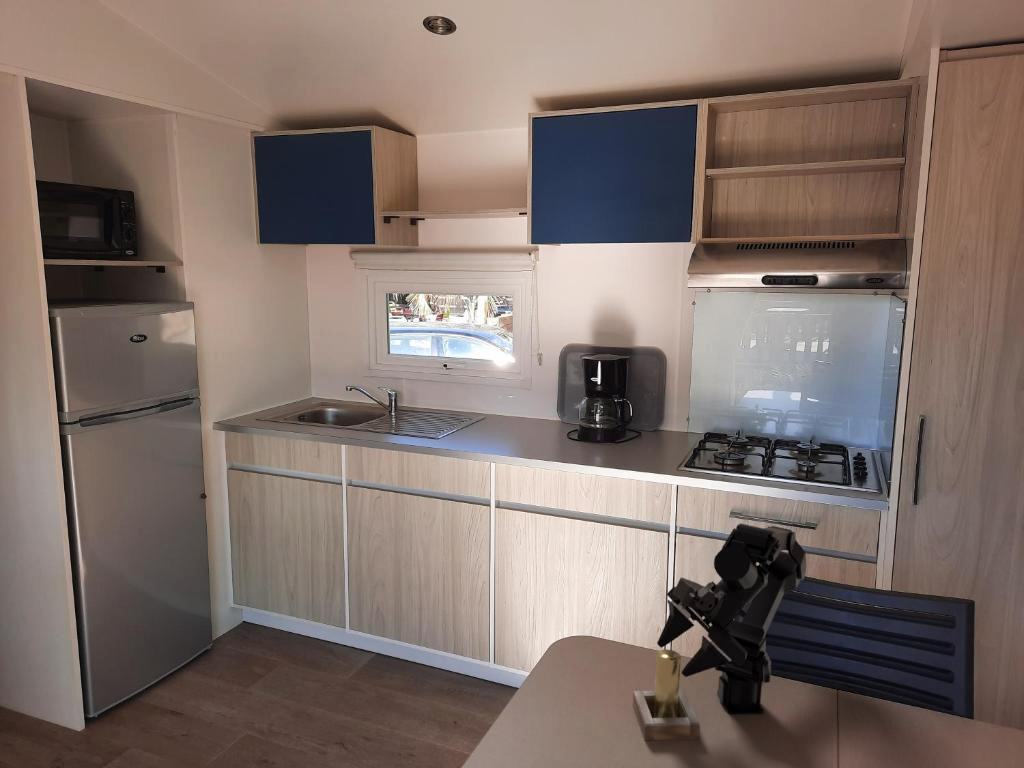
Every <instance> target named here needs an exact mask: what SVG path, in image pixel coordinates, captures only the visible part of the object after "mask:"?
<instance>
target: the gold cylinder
mask: <svg viewBox="0 0 1024 768" xmlns="http://www.w3.org/2000/svg"><path fill="white" fill-rule="evenodd" d="M681 659H682V656H681V655H680V653H678V652H676V651H675V650H672V649H665V648H664V649H660V650H659V651H657V653H656V661H655V681H654V683H655V684H654V691H655V698H654V711H653V718H678V716H679V714H678V697H679V690H680V675H681Z"/></svg>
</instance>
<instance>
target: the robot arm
mask: <svg viewBox="0 0 1024 768" xmlns="http://www.w3.org/2000/svg"><path fill="white" fill-rule="evenodd" d="M786 551H787V552H786ZM806 553H807V552H806V551H805V550H804V549H803V547H802V546H801V545H800V544H799V542H798V541H797V539H796V532H795V531H793V530H792V529H788V528H785V527H779V526H774V525H771V526H767V527H763V528H762V527H758V526H755V525H749V524H745V523H738V524H737V525H736V527H734V528H733V529H732V531H730V534H729V535H728V537H727V539H726V540H725V542H724V544H723V545H722V547H721V549H720V550H719V551H718V552H717V554H716V555H715V556H714V560H713V568H714V570H715V573H717V576H719V577H720V581H718V583H715V582H714V581H710V582H708V583H707V584H706V585H705V586H704V585H701V584H700V583H697V582H695V581H692V580H690V579H688V578H686V577H679V580H678V582H677V584H676V586H672V588H671V589H670V590H669V591H668V592H667V593H666V596H667V597H669V598H670V599H667V603H668V611H669V612H668V613H669V614H668V617H667V620H666V622H665V625H664V627H663V629H662V631H661V633H660V636H659V638H658V640H657V642H656V644H657V646H658V647H660V648H661V649H662V648H663V647H665V646H667V645H669V644H670V643H672V642H673V641H675V640H676V639H677V638H679V637H680V636H682V635H683V634H684V633H686V632H687V631H689V630H690V629H692V628H693V627H694V626H695V624H694V623H693V622H695V621H696V622H697V623H698V624H699V625H700V626H701V627H702V628H703V629H704V630H705V632H707V637H708V639H709V640H708V639H707V637H705V636H704V635H702V638H701V646H700V648H699V649H698V651H696V652H695V654H694V655H693V656H692V658H690V660H689V661H688V663H687V664H686V665H685V667H683V669H682V670H681V671H680V674H682V676H683V677H685V678H687V677H691V676H693V675H696V674H699V673H702V672H705V671H707V670H711V669H715V671H717V672H721V675H719V676H718V686H717V687H718V688H717V691H716V694H717V697H718V700H719V701H720V703H721V705H722V706H723V707H724V709H725V711H726V713H727V714H728V715H757V714H758V715H759V714H760V715H761V714H764V713H765V709H764V707H763V706H762V705H761V701H762V688H763V685H764V684H766V683H770V682H771V677H772V676H771V674H772V660H771V658H770V656H769V654H768V652H767V651H766V649H767V648H766V645H767V644H766V643H767V641H766V640H767V639H766V634H767V632H768V630H769V628H770V627H771V626H770V625H771V624H772V621H773V619H774V617H775V614H776V613H777V610H778V608H779V606H780V604H781V601H782V600H783V598H784V597H783V596H785V594H786V593H789V592H792V591H795V590H796V589H797V588H798V586H799V585H800V582H801V581H803V580H804V579H805V578H806V571H807V555H806ZM757 564H758V565H757ZM746 606H748V607H747V609H746V611H745V610H744V609H745V608H746ZM738 615H739V616H740V617H741V621H739V620H735V619H736V618H737V617H738ZM703 617H704V618H703ZM690 619H691V620H692V621H693V622H692V621H691V620H690ZM710 624H711V625H710Z"/></svg>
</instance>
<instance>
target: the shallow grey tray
mask: <svg viewBox="0 0 1024 768" xmlns="http://www.w3.org/2000/svg"><path fill="white" fill-rule="evenodd" d="M632 694H633V695H632V696H633V697H632V707H633V711H634V714H635V717H636V719H637V722H638V725H639V727H640V732H641V734H642V735H641V736H642V738H643V740H644V741H667V740H669V741H671V740H673V741H674V740H675V741H676V740H700V732H701V731H700V730H701V724H700V721H699V719H698V717H697V715H696V712H695V710H694V708H693V707H692V704H691V702H690V699H689V697H688V696H687V693H686V691H685V690H684V689H683V690H681V689H679V697H678V716H679V717H677V718H654V717H652V714H651V712H654V698H655V690H643V691H642V690H634V691H633V693H632Z"/></svg>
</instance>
